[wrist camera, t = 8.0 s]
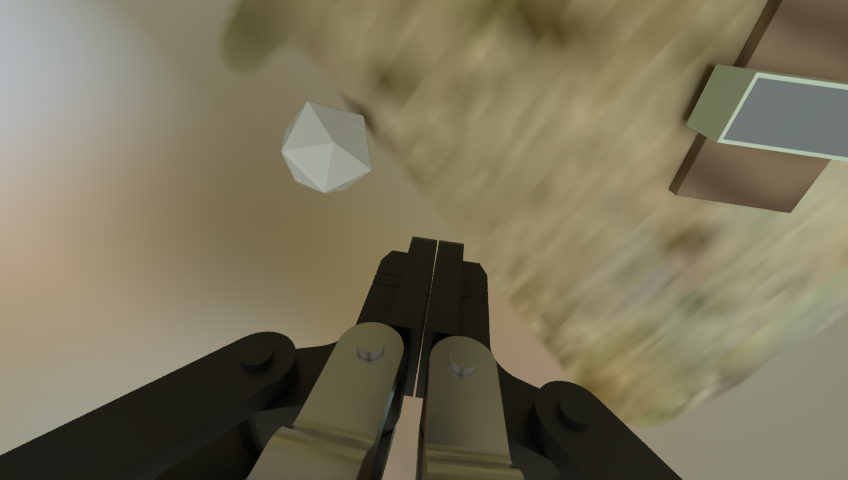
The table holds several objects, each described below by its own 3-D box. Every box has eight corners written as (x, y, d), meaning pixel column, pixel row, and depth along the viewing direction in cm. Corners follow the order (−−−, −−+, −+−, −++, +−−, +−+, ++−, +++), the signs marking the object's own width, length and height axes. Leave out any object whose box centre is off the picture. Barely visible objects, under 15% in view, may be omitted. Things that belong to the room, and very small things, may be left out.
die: (374, 89, 36) (282, 79, 29) (404, 169, 35) (318, 177, 28) (334, 130, 42) (250, 129, 35) (360, 199, 41) (280, 212, 34)
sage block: (757, 72, 25) (906, 92, 25) (716, 64, 29) (843, 81, 29) (717, 142, 28) (851, 162, 27) (685, 125, 32) (801, 142, 31)
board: (784, -29, 27) (799, -31, 26) (938, -10, 26) (961, -11, 25) (668, 189, 37) (675, 195, 35) (779, 206, 36) (790, 213, 35)
